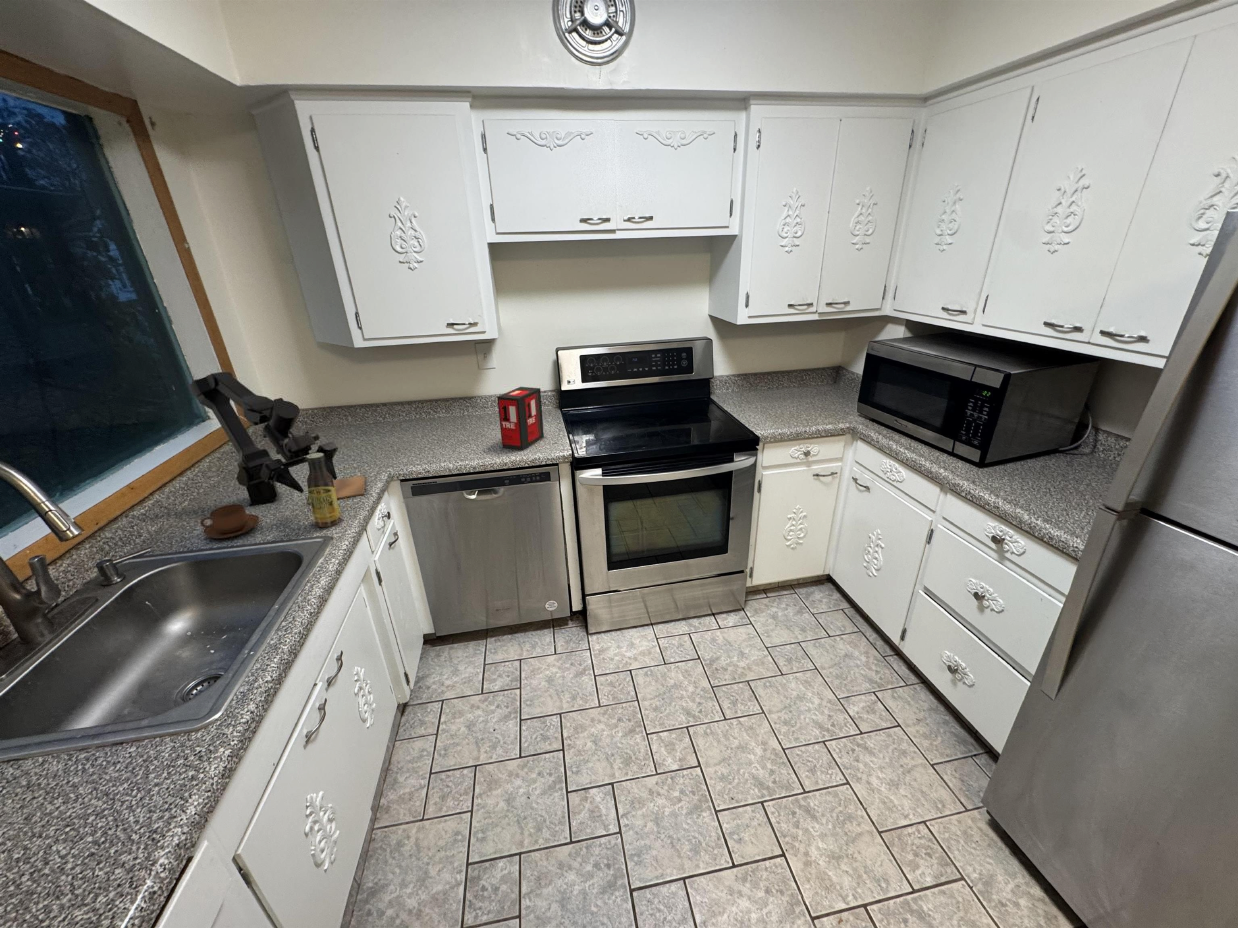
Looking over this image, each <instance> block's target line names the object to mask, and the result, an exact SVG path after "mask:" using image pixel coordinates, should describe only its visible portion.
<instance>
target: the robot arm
mask: <svg viewBox="0 0 1238 928" xmlns="http://www.w3.org/2000/svg"><path fill="white" fill-rule="evenodd" d="M188 388H189V392H190V394H191V395H192V396H193V397H195V399H196V400H197V402H198V403H199V404H200V405H202V406H203V407H205V408H207V409H209V410H211V411H212V413H213V415H214V416H215V418H216V420H217V422H218V423H219V425H220V427H221V428H222V430H223V431H224V434H226V436H227V438H228V439H229V441H230V443H231V445H232V446H233V448H234V450H235V451H236V453H237V457H238V458H237V464H236V465H237V468H238V472H237V475H236V478H235V479H236V481H237V483H238V485H240V486H243V487H244V488H245V489H246V493H247V495H248V499H249V503H248V505H249V506H256V505H261V504H267V503H273V502H276V500H277V498H278V497H279V494H280V493H279V489H278V486H277V483H278V484H280V485H283V486H286V487H288V488H290V489H292V490H294V491H296V492H298V493H300V494H304V492H305V490H304V488H303V487H302V485H301V484H300V483H299V482H298V481H297V480H296V478H295V476H294V475H292V473H291V471H290V468H291V469H292V468H293V467H296V466H299V465H302V464H305V463H308V462H307V461H306V456H307V455H309V454H312V453H323V454H324V458H325V459H324V463H325V467H326V470H327V472H328V473H329V474H330V475H331V476H332V478H333V480H338V476H337V472H336V469H335V466H334V457H335V456H336V454H337V452H338V450H339V446H338V445H337V444H336V443H335V442H334V441H333V442H332V441H328V442H325V443H322V444H320V445H319V444H318V446H317V447H316V448H317V449H316V450H315V451H312V450H313V447H312V446H313V445H314V446H315V445H316V442H317V441H320V439H321V436H320V435H319V433H318V431H316V429H314V428H312V429H308V430H306V431H305V432H304V434H301V435H300V434H296V433H295V432H294V431H293V430H292V429H294V428H295V425H296V423H297V420H298V417H299V416H300V413H301V410H300V407H299V406H298V405H297V404H295V403H294V402H291V401H288V400H284V398H283V397H278V398H273V399H271V398H270V397H267V396H264V395H258V394H256V393H255V392H253V391H252V390H250V389H249V388H248V387H247V386H245V384H242V383H241V382H240V381H239V380H238V379H236V378H235V377H234V375H233V374H232V372H231V371H228V370H224V371H218V372H212V373H211V372H210V373H209V374H207V375H206V376H204V377H201V378H196V379H192V381H191V383H190V384H189V386H188ZM231 402H233V403H235V405H236V406H238V407H239V408H240V409H242V415H243V417H244V418H245V420H246V421H247V422H248V423H250V424H251V425H253V426H262V425H264V424H265V425H264V426H263V428H262V438H263V439H267V440H269V442H270V443H271V444H272V445H273V447H274V448H275V453H276V455H278V456H279V455H280V456H281V457H282V458H283V460H284V461H283V460H282V459H281V458H275V459H273V458H272V456H271V455H270V452H269V451H268V450H267V449H266V448H260V447H258V446H257V445H256V444H255V442H254V440H253V438H252V437H251V435H250V433H249V432H248V430H247V428H246V427H245V425H244V424H243V422H242V420H241V418H240V417H239V416H238V413H237V412H236V410H235V408H234V407H233V405H232V403H231ZM310 451H312V452H310Z"/></svg>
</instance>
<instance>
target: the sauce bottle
mask: <svg viewBox="0 0 1238 928" xmlns="http://www.w3.org/2000/svg"><path fill="white" fill-rule="evenodd" d="M311 453H312V452H311ZM324 459H325V458H324V454H323V453H312V454H309V455H307V456H306V461H307V462H306V463H307V465H308V471H309V473H308V476H307V477H306V484H307V492H308V496H309V497H310V502H311V504H310V506H311V511H312V515H313V516H312V517H313V520H314V523H315V525H316V527H319V528H327V527H332V526H336V525H337V524H338V523H339V522H340V521H341V511H340V507H339V501H338V499H337V496H336V491H335V486H334V482H333V480H334V479H333V478H332V476H331V475H330V474H329V473H328V472H327V470H326V467H325V463H324Z"/></svg>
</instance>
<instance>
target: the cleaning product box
mask: <svg viewBox="0 0 1238 928" xmlns="http://www.w3.org/2000/svg"><path fill="white" fill-rule="evenodd" d="M541 392H542V391H541V388H540V387H529V386H518V387H516V388H514V389H512V390H510V391H507V392H505V393H503V394H500V395H498V396H496V399H497V409H498V419H499V427H500V437H501V448H502V449H507V450H516V451H524V450H526V449H528V448H529V447H531V446H532V445H534V444H535V443H537V442H539V441H540V440H541V439H543V438H545V433H544V432H545V431H544V419H543V405H542V393H541Z"/></svg>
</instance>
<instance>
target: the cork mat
mask: <svg viewBox="0 0 1238 928" xmlns="http://www.w3.org/2000/svg"><path fill="white" fill-rule="evenodd" d="M365 476H366V475H359V476H353V477H347V478H346V477H345V478H340V479H336V480H334V479H333V482H334V486H335V491H336V496H337V500H342V499H347V498H353V497H360V496H365V489H366V488H365V486H366V485H365V484H366V477H365ZM307 504H308V505H311V502H310V497H309V499H308V502H307Z"/></svg>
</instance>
